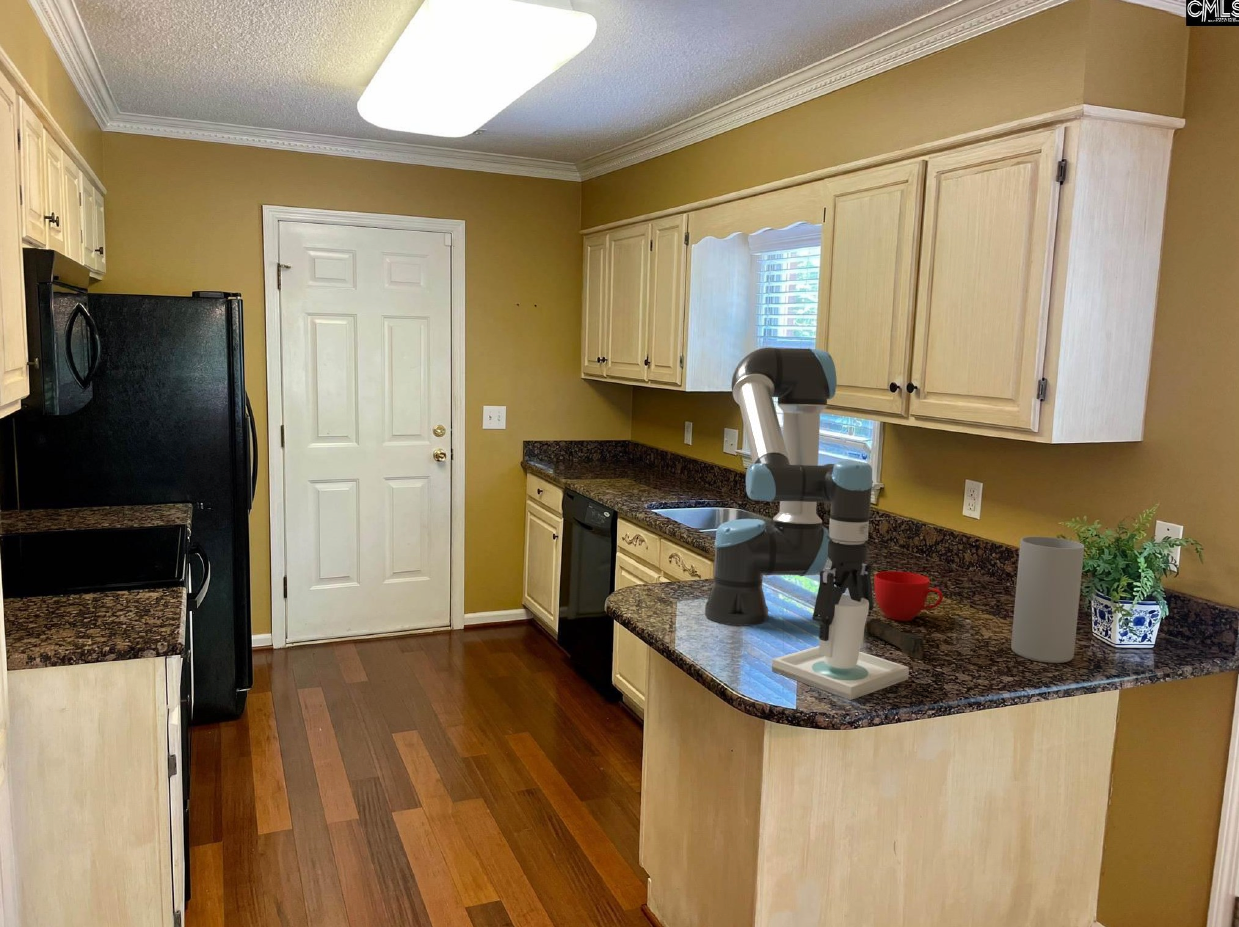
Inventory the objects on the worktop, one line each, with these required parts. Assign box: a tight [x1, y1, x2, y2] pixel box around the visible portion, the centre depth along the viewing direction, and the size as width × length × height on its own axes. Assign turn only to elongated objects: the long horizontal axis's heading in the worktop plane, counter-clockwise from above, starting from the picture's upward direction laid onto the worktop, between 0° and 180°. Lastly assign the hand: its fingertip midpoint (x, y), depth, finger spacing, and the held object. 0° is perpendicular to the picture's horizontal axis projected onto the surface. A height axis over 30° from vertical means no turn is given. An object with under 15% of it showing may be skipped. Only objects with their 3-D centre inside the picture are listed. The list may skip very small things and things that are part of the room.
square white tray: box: [771, 645, 910, 701], centre depth 187 cm, size 19×19×2 cm
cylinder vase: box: [1010, 536, 1085, 664], centre depth 203 cm, size 12×12×25 cm
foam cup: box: [824, 593, 869, 669], centre depth 186 cm, size 10×9×13 cm
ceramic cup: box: [873, 570, 944, 622], centre depth 228 cm, size 13×17×10 cm
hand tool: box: [866, 618, 925, 660], centre depth 207 cm, size 19×4×5 cm, turn 15°
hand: (841, 650), depth 187 cm, fingers closed on foam cup, 9 cm apart
